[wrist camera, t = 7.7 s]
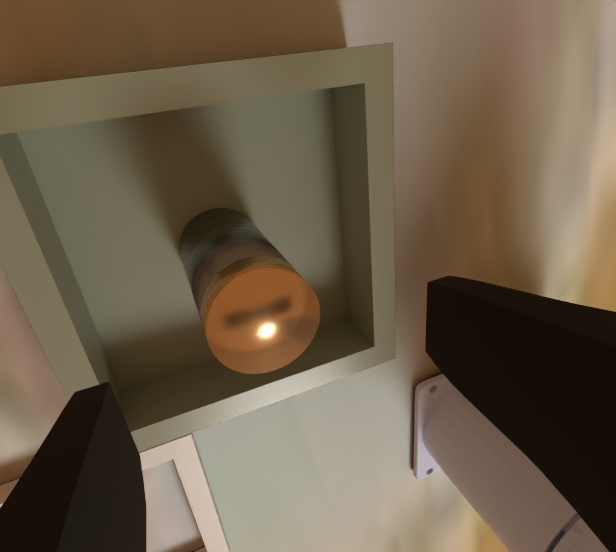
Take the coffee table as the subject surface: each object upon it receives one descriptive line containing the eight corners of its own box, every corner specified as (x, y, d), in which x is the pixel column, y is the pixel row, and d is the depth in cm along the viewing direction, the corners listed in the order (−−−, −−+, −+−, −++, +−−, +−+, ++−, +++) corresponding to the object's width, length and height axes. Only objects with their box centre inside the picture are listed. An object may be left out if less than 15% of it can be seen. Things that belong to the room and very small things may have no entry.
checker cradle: (187, 418, 19) (191, 434, 18) (229, 547, 24) (233, 565, 23) (-74, 511, 16) (-85, 535, 15) (31, 638, 21) (27, 661, 20)
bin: (347, 49, 15) (393, 42, 13) (362, 324, 21) (395, 358, 18) (-38, 92, 12) (-82, 96, 9) (103, 409, 17) (99, 466, 15)
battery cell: (255, 202, 16) (319, 260, 11) (261, 275, 17) (320, 358, 12) (172, 213, 15) (198, 282, 10) (185, 289, 16) (215, 386, 11)
